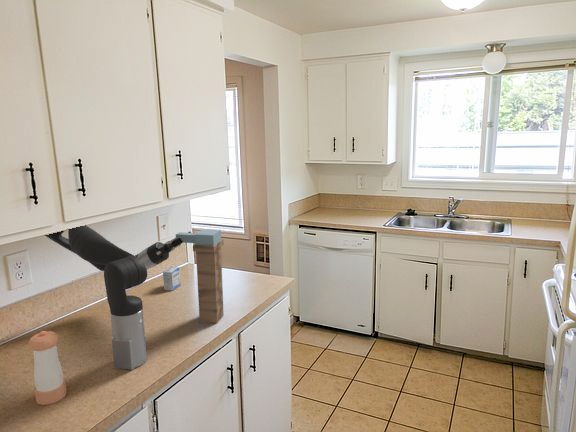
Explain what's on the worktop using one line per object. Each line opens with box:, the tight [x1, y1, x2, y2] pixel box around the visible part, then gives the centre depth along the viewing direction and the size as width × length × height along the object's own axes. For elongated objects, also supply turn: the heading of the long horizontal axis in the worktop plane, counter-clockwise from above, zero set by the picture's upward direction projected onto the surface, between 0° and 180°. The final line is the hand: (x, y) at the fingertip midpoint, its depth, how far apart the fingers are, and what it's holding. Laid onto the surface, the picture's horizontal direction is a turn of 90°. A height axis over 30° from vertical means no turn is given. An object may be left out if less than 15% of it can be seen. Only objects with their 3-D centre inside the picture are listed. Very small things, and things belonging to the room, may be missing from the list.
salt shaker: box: [28, 330, 67, 406], centre depth 113 cm, size 7×7×19 cm
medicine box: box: [162, 266, 182, 292], centre depth 192 cm, size 8×4×9 cm, turn 168°
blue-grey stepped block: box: [175, 228, 222, 246], centre depth 155 cm, size 8×16×4 cm, turn 79°
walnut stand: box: [192, 239, 225, 324], centre depth 158 cm, size 10×8×30 cm
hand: (186, 236), depth 156 cm, fingers open, 8 cm apart
